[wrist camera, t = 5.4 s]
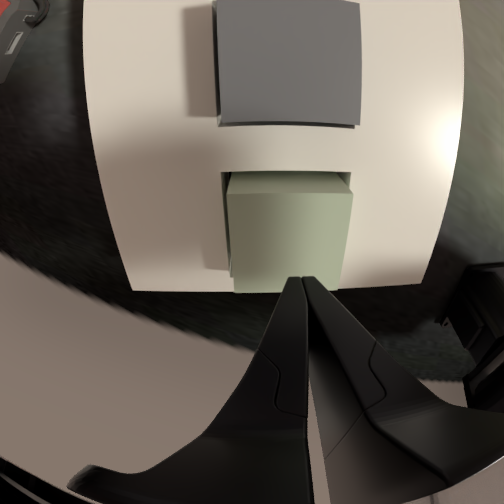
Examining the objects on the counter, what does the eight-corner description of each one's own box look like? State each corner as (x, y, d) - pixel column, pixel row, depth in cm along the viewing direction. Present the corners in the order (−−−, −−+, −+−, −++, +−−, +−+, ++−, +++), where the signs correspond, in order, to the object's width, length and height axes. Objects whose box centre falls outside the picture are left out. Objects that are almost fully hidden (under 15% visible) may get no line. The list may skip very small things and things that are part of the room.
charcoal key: (332, 22, 8) (359, 3, 6) (333, 114, 11) (360, 125, 8) (226, 19, 9) (216, -4, 6) (230, 113, 11) (221, 122, 8)
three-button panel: (413, -61, 5) (438, -76, 2) (401, 253, 16) (420, 283, 14) (120, -67, 5) (97, -85, 2) (148, 258, 17) (132, 290, 14)
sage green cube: (330, 165, 12) (353, 193, 9) (322, 246, 15) (337, 290, 12) (233, 165, 12) (226, 194, 10) (238, 248, 15) (234, 293, 12)
